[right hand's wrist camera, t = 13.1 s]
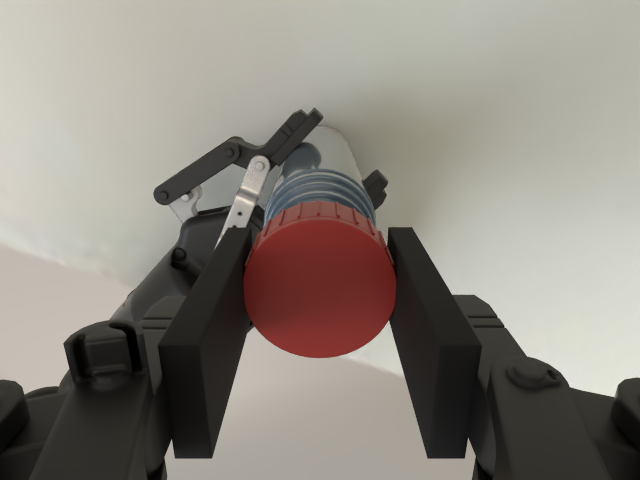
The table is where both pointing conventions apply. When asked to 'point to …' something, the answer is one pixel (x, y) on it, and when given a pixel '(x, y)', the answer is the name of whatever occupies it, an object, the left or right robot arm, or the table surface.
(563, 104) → the table surface
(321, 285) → the cap
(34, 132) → the table surface
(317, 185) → the bottle
